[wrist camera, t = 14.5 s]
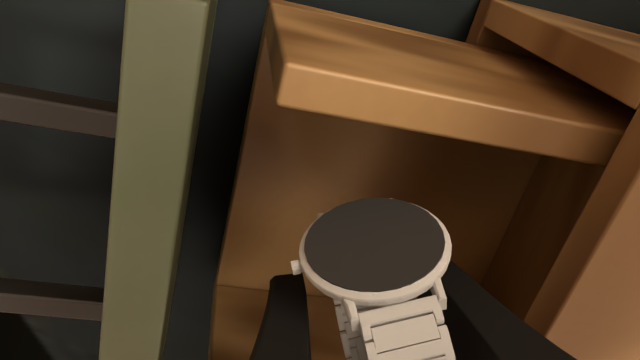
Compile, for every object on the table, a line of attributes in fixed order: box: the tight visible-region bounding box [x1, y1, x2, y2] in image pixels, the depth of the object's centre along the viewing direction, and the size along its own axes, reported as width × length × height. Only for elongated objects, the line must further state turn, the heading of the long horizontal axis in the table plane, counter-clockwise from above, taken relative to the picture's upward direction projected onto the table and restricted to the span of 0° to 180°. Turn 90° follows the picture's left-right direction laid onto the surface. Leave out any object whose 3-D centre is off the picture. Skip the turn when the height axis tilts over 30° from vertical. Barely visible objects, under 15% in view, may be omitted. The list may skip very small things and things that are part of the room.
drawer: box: [0, 0, 636, 360], centre depth 14 cm, size 17×11×7 cm, turn 76°
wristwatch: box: [291, 198, 456, 360], centre depth 11 cm, size 3×5×5 cm, turn 8°
